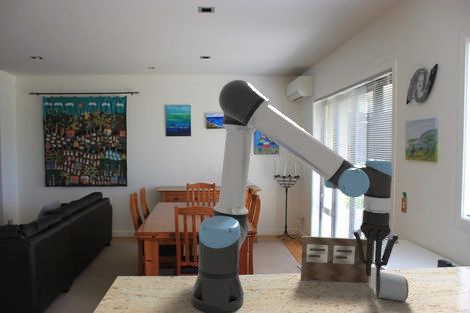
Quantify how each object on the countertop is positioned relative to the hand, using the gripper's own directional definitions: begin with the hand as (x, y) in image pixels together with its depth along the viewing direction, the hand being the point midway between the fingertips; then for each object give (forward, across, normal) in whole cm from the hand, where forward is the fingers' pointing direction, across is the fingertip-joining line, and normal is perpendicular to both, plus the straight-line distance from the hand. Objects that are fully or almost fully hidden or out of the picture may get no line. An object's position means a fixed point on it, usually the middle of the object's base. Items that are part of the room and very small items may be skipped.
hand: (371, 286), depth 97 cm
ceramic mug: (+4, -6, -2) cm, 7 cm away
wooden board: (+3, +10, -9) cm, 13 cm away
